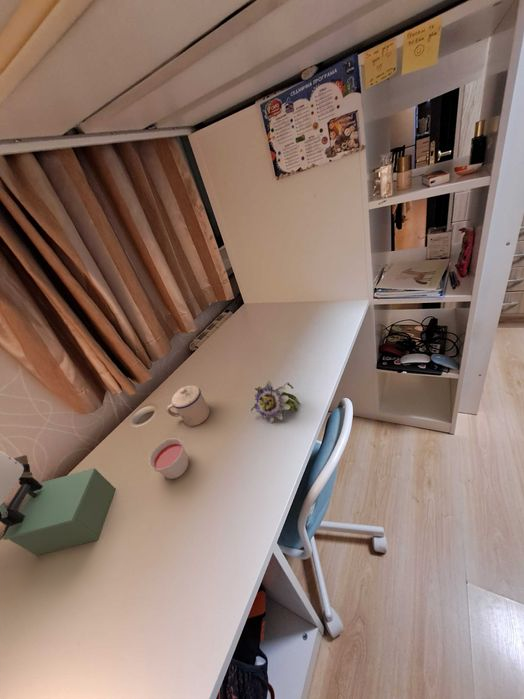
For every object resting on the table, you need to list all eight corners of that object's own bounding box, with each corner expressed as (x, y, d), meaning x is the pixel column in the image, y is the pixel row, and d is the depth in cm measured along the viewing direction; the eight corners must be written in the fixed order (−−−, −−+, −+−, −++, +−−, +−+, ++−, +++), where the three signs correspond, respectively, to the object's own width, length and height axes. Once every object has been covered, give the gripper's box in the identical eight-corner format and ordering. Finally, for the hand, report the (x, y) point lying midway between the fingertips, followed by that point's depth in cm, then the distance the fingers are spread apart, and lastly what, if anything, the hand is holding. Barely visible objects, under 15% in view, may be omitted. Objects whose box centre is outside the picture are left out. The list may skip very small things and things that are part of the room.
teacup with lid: (210, 401, 95) (197, 375, 89) (210, 421, 87) (195, 394, 81) (176, 412, 95) (160, 387, 89) (173, 433, 88) (155, 407, 81)
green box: (36, 555, 67) (8, 539, 63) (62, 502, 78) (40, 485, 73) (97, 540, 66) (74, 522, 61) (115, 488, 77) (96, 469, 72)
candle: (156, 466, 79) (145, 453, 75) (186, 446, 82) (176, 432, 78) (166, 490, 72) (154, 476, 69) (197, 467, 75) (187, 453, 72)
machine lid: (4, 540, 63) (-15, 528, 60) (37, 485, 73) (21, 473, 70) (73, 522, 61) (57, 509, 59) (96, 469, 72) (83, 456, 69)
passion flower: (277, 432, 84) (244, 417, 79) (279, 401, 91) (248, 385, 86) (304, 419, 77) (270, 401, 72) (304, 386, 84) (272, 367, 80)
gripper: (-22, 431, 65) (34, 475, 74) (-94, 508, 50) (-14, 551, 60) (8, 422, 64) (60, 468, 74) (-56, 498, 50) (19, 542, 59)
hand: (27, 505), depth 67 cm, fingers open, 7 cm apart
